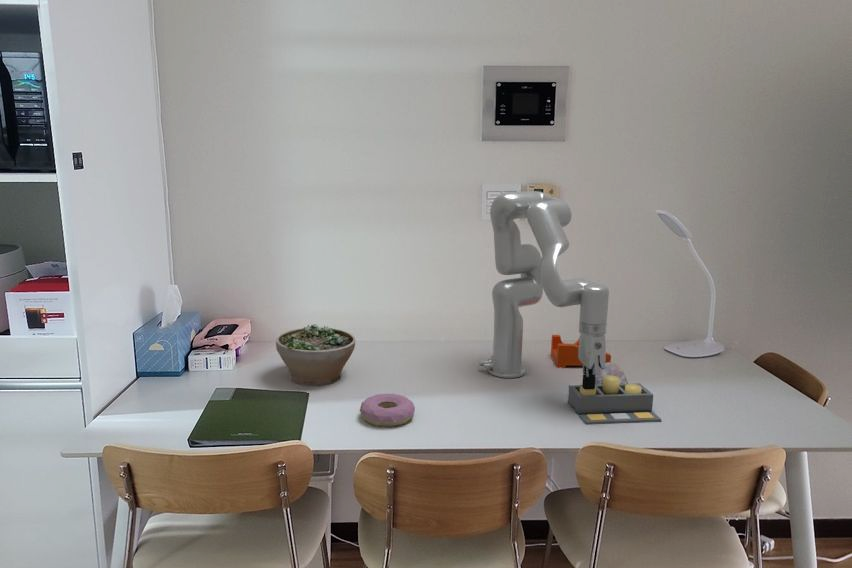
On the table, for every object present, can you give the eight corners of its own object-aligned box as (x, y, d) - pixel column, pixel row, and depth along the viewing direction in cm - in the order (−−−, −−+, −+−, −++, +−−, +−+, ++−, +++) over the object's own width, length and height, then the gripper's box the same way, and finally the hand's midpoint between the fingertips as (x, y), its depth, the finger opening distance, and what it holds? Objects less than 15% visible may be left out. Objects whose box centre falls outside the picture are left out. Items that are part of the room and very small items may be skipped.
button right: (627, 406, 195) (629, 389, 193) (621, 399, 199) (622, 384, 198) (642, 405, 195) (644, 389, 194) (636, 399, 200) (637, 383, 198)
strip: (585, 424, 185) (585, 421, 185) (579, 416, 190) (579, 413, 190) (661, 421, 188) (661, 418, 187) (653, 414, 192) (653, 411, 192)
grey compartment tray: (578, 415, 191) (579, 397, 190) (567, 402, 200) (569, 385, 198) (651, 412, 193) (653, 394, 192) (638, 400, 202) (639, 383, 201)
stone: (613, 413, 207) (638, 393, 204) (591, 390, 206) (617, 370, 204) (605, 392, 223) (628, 373, 221) (585, 371, 222) (608, 352, 220)
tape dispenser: (557, 368, 230) (558, 345, 228) (550, 356, 242) (551, 334, 240) (609, 369, 230) (611, 346, 228) (600, 357, 242) (602, 335, 240)
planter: (306, 359, 234) (305, 318, 230) (369, 371, 223) (369, 328, 220) (259, 383, 211) (257, 338, 208) (327, 397, 201) (326, 350, 197)
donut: (355, 409, 193) (355, 393, 192) (407, 404, 197) (407, 388, 196) (366, 432, 178) (366, 415, 177) (421, 426, 183) (421, 409, 182)
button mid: (605, 397, 193) (606, 381, 192) (599, 391, 198) (600, 375, 196) (620, 397, 194) (622, 380, 193) (614, 391, 198) (616, 375, 197)
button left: (581, 407, 193) (583, 391, 192) (576, 401, 197) (577, 385, 196) (597, 407, 193) (598, 390, 192) (591, 400, 198) (592, 385, 197)
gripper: (615, 334, 183) (610, 397, 187) (595, 320, 198) (591, 378, 202) (589, 335, 182) (584, 398, 186) (571, 320, 197) (567, 379, 201)
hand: (588, 388), depth 194 cm, fingers closed
